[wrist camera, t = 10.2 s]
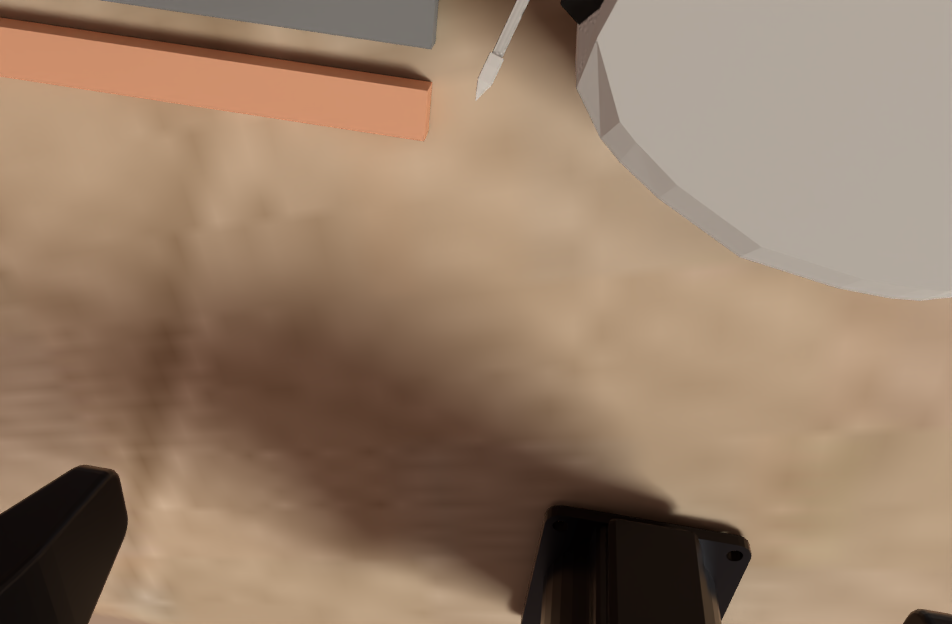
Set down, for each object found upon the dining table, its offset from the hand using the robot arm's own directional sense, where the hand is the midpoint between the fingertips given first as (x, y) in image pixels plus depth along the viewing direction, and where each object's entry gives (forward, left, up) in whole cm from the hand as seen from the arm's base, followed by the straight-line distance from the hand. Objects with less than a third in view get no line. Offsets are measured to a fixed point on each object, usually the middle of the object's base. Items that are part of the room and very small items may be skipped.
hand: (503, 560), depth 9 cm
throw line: (+1, +13, -12) cm, 18 cm away
